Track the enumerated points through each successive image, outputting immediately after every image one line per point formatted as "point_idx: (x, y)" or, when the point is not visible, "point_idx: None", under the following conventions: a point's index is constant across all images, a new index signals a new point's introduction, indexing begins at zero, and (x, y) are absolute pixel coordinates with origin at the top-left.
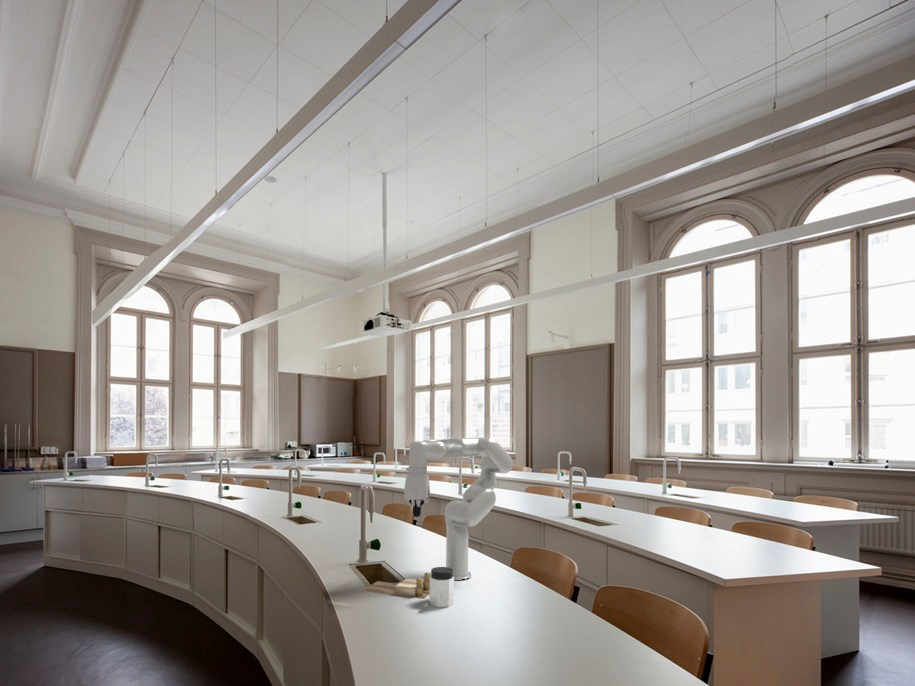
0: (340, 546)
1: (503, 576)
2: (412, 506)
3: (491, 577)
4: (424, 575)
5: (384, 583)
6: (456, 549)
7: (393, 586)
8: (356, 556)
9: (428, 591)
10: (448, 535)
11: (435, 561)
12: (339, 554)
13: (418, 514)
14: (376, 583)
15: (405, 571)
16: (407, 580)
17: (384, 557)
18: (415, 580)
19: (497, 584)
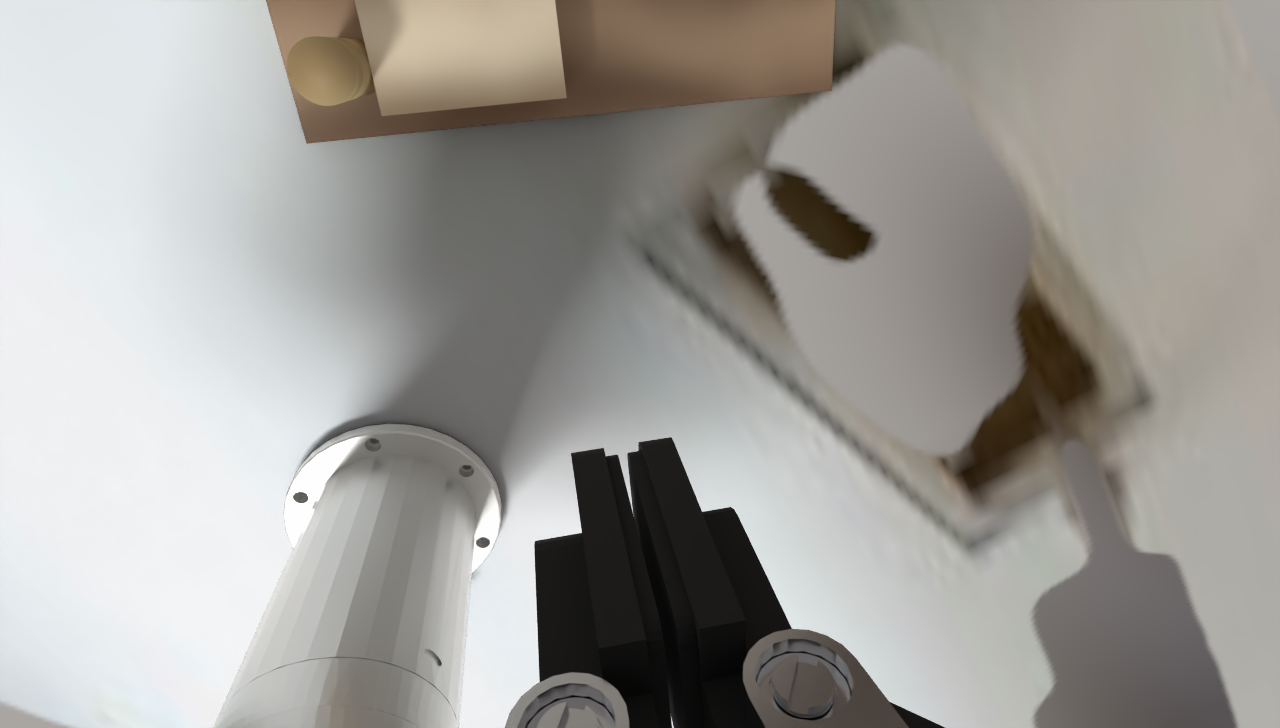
0: (1276, 636)
1: (127, 654)
2: (810, 631)
3: (181, 601)
4: (345, 46)
5: (754, 56)
6: (300, 602)
7: (650, 10)
8: (1149, 540)
9: (306, 14)
10: (379, 704)
11: None
12: (1251, 524)
13: (568, 535)
14: (813, 25)
15: (764, 439)
16: (518, 7)
17: (992, 600)
18: (453, 45)
19: (27, 498)
